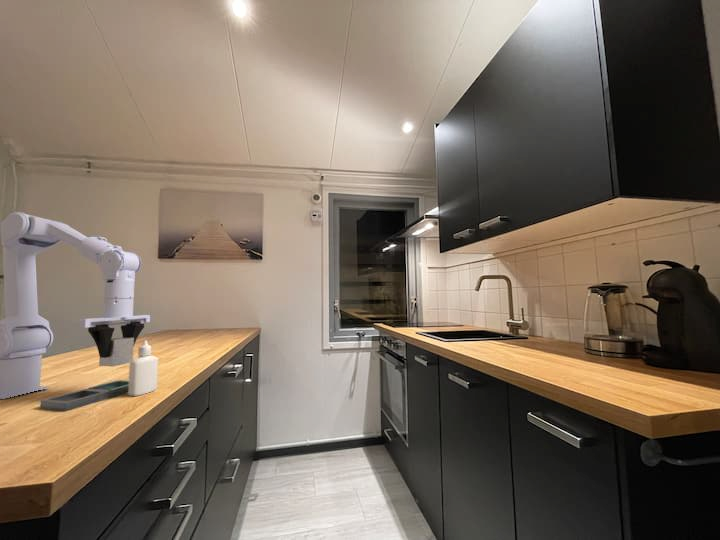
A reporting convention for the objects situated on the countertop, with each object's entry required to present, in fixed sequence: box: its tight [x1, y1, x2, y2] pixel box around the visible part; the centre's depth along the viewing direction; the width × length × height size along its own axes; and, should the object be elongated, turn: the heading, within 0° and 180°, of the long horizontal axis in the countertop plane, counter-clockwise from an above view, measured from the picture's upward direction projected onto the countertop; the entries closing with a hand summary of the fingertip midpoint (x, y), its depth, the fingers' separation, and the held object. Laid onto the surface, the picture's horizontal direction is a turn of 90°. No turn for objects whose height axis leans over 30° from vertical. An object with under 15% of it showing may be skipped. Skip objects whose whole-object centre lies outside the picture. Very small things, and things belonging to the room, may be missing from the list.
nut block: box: [98, 336, 135, 368], centre depth 70 cm, size 4×4×6 cm
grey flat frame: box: [39, 379, 129, 412], centre depth 65 cm, size 8×15×2 cm, turn 163°
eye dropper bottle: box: [127, 340, 159, 397], centre depth 68 cm, size 4×6×12 cm
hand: (116, 355), depth 70 cm, fingers closed on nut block, 4 cm apart
